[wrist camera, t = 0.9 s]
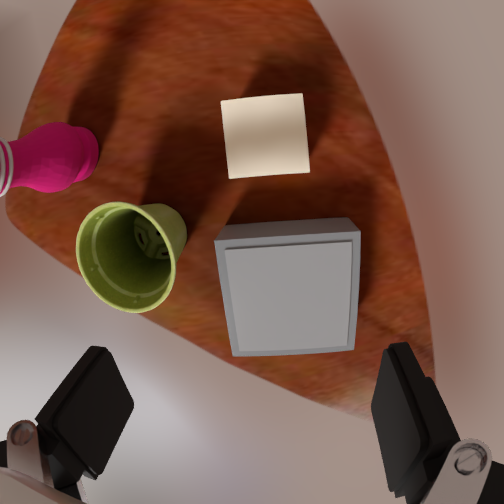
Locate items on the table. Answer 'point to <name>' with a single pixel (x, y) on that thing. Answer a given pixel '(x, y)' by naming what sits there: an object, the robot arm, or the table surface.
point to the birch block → (265, 135)
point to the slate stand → (290, 285)
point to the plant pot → (130, 253)
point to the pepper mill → (48, 158)
